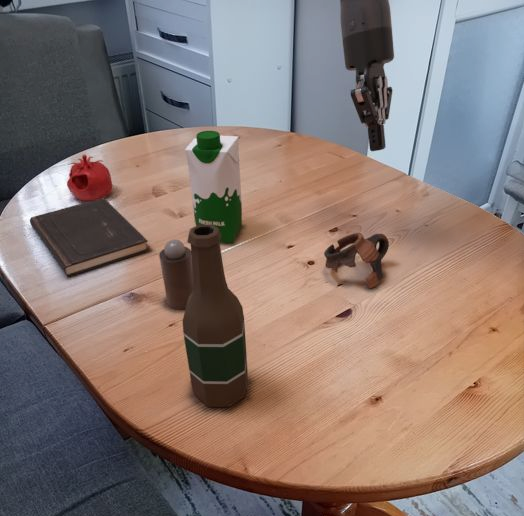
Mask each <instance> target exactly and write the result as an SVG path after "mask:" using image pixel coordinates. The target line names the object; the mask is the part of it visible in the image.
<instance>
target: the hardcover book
mask: <svg viewBox="0 0 524 516" xmlns="http://www.w3.org/2000/svg"><path fill="white" fill-rule="evenodd" d="M29 223H30V225H31V227H32V229H33V230H34V231H35V233H36V234H37V236H38V237H39V239H40V240H41V241H42V243H43V244H44V246H45V247H46V248H47V251H48V252H49V253H50V254H51V256H52V258H54V260H55V262H56V263H57V264H58V266H59V268H61V270H62V271H63V273H64V275H66V276H67V277H69V278H70V277H74V276H76V275H80V274H83V273H86V272H89V271H92V270H95V269H98V268H102V267H104V266H107V265H110V264H114V263H116V262H119V261H123V260H126V259H129V258H132V257H134V256H135V257H136V256H137V255H141V254H144V253H146V252H147V253H148V252H150V248H149V247H147V244H146V243H148V240H147V238H146V237H145V236H144V235H142V234H141V232H140V231H138V230H137V228H136V227H134V226H133V225H132V224H131V222H129V221H128V220H127V219H126V218H125V217H124V216H123V215H122V214H121V213H120V212H119V211H118V210H117V208H115V207H114V206H113V205H112V204H111V203H110V202H109V201H108V200H107V199H106V198H105V197H103V198H100V199H97V200H93V201H85V202H83V203H79V204H75V205H70V206H68V207H67V206H66V207H64V208H60V209H57V210H53V211H50V212H46V213H42V214H38V215H34V216H32V217H30V219H29Z"/></svg>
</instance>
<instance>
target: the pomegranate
mask: <svg viewBox="0 0 524 516" xmlns="http://www.w3.org/2000/svg"><path fill="white" fill-rule="evenodd" d="M91 159H94V156H88V157H87V154H82V156H81V158H78V159H77V160H78V161H80V162H71V163H68V164H67V165H71V168H70V170H69V171H70V172H69V174H68V177H69V178H68V180H67V181H66V186H67V188H68V190H69V192H70V193H71V194H72V196H73V197H75V198H76V199H78V200H81V201H84V202H89V201H93V200H97V199H100V198H105V197H108V196H109V195H110V194H111V193H112V191H113V180H112V176H111V172H110V169H109V168H108V167H107V166H106V165H105V164H104V163H101V162H102V160H100V159H99V160H95V161H91Z"/></svg>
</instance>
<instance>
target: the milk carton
mask: <svg viewBox="0 0 524 516" xmlns="http://www.w3.org/2000/svg"><path fill="white" fill-rule="evenodd" d="M184 150H185V151H184V152H185V157H186V162H187V166H188V167H187V168H188V175H189V183H190V191H191V201H192V207H193V217H194V223H195V227H196V226H198V225H213V226H215V227H217V228H218V229H219V231H220V233H221V240H220V242H219V243H220V244H221V243H222V244H231V245H232V244H233V243H234V242H235V240H236V238H237V236H238V234H239V232H240V231H241V230H242V229H241V228H242V226H243V225H242V223H243V201H242V184H241V169H240V147H239V136H238V135H237V136H236V135H221V134H220V132H218V131H217V130H203V131H200V132H198V133H197V134H196V135H195V138H193V139H192V140H191V142H190V143H189V144H188V145H187V146H186V147H185V148H184Z"/></svg>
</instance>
